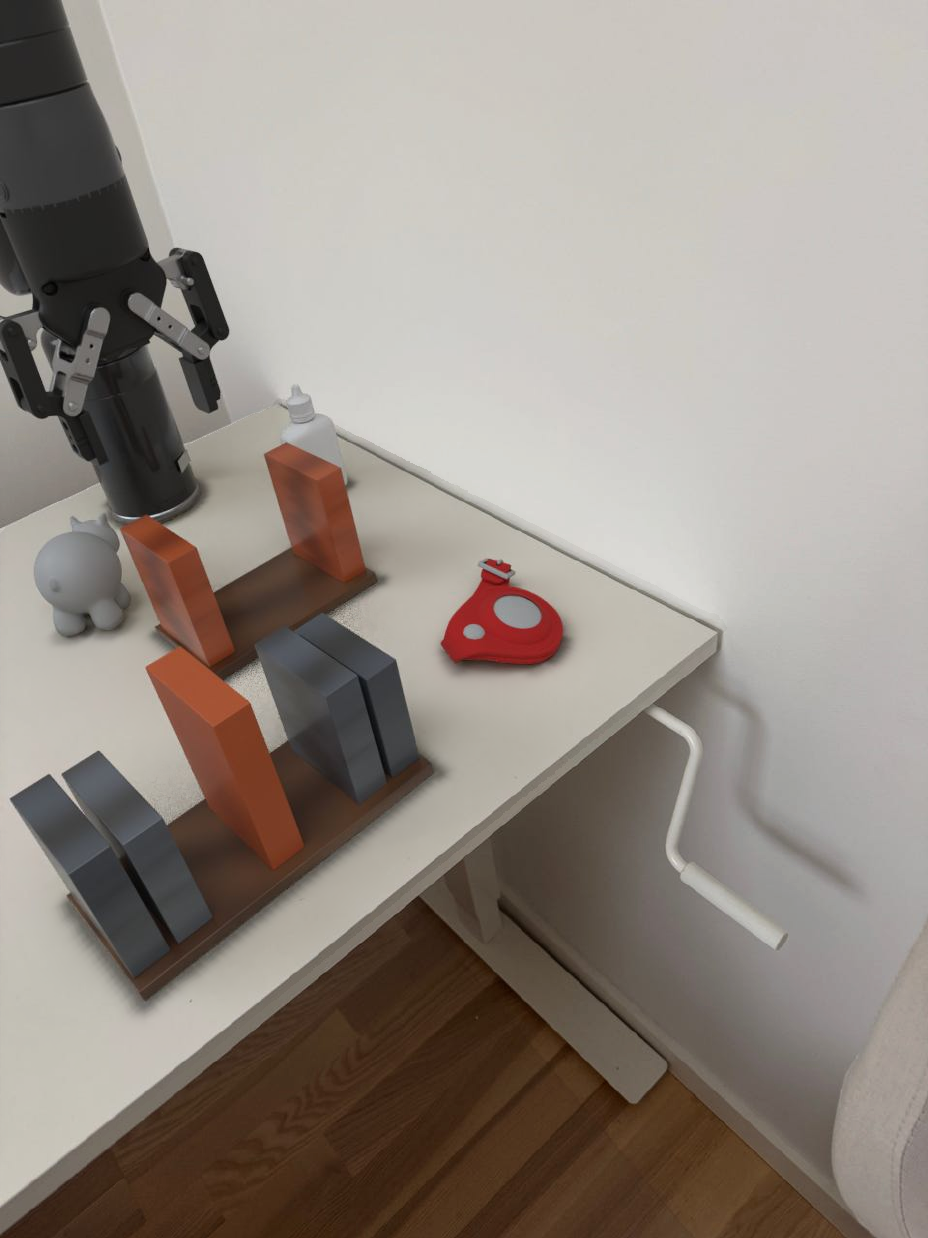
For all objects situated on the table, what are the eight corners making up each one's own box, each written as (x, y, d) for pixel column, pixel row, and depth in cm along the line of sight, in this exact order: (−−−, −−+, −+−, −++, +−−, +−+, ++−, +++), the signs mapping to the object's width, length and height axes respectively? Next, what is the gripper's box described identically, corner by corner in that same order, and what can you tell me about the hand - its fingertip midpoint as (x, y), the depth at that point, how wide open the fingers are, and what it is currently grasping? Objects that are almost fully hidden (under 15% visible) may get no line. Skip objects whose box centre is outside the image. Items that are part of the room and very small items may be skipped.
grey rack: (71, 904, 62) (-3, 792, 55) (347, 709, 73) (314, 595, 66) (144, 1002, 56) (71, 889, 49) (434, 772, 67) (407, 654, 60)
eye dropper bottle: (294, 489, 101) (263, 383, 93) (345, 476, 101) (320, 370, 94) (299, 509, 97) (268, 401, 90) (352, 495, 98) (326, 387, 90)
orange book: (209, 807, 66) (144, 666, 58) (239, 786, 67) (180, 645, 59) (273, 871, 61) (213, 727, 53) (305, 847, 62) (250, 702, 54)
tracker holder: (591, 630, 74) (486, 663, 69) (576, 669, 77) (474, 704, 72) (506, 536, 81) (405, 560, 76) (495, 575, 84) (397, 601, 79)
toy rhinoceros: (161, 559, 93) (131, 484, 88) (124, 637, 84) (88, 559, 79) (91, 566, 94) (56, 492, 89) (47, 645, 85) (5, 567, 80)
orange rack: (158, 635, 84) (110, 525, 77) (312, 544, 92) (282, 437, 85) (217, 683, 77) (171, 569, 70) (377, 581, 86) (351, 469, 78)
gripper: (136, 146, 61) (214, 383, 71) (-85, 213, 54) (35, 465, 64) (195, 152, 56) (270, 405, 66) (-39, 226, 49) (83, 496, 59)
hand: (154, 434), depth 65 cm, fingers open, 8 cm apart
